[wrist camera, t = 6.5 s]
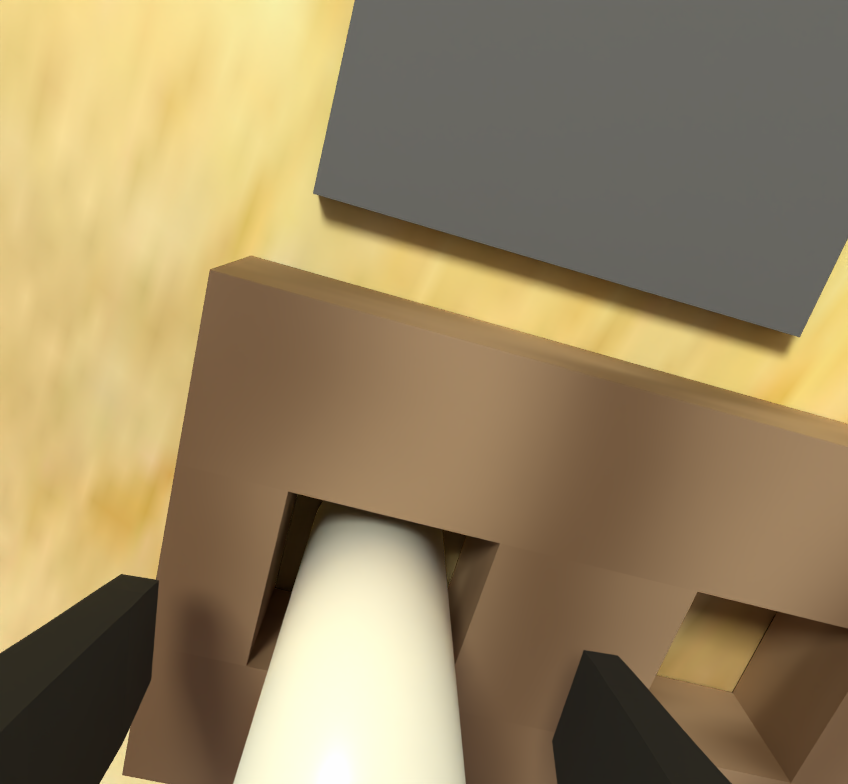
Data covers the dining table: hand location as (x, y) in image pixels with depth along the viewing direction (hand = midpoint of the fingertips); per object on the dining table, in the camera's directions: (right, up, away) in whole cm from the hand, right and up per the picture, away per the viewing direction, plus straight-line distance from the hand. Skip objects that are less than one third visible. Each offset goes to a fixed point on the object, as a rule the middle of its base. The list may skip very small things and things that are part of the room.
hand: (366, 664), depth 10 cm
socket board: (+4, 0, +4) cm, 6 cm away
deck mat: (+5, +11, +1) cm, 12 cm away
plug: (0, +1, +4) cm, 4 cm away
